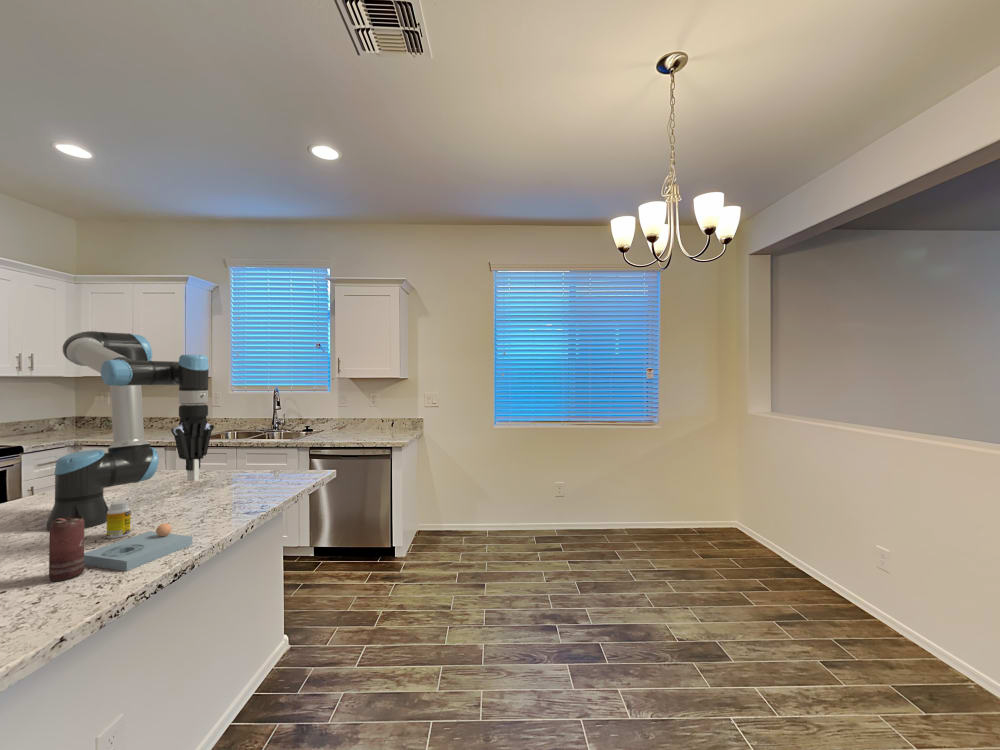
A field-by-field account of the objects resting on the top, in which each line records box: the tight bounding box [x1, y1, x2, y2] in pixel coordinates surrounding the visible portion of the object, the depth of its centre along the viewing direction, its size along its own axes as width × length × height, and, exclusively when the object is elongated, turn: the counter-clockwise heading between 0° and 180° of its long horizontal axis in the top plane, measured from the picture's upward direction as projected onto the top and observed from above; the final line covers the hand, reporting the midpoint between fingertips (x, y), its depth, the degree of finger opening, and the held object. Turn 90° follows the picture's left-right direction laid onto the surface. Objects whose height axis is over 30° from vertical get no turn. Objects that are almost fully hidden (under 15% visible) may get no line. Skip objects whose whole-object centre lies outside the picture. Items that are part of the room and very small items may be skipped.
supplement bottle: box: [106, 500, 132, 539], centre depth 136 cm, size 6×6×10 cm
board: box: [84, 531, 193, 572], centre depth 122 cm, size 16×18×2 cm
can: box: [48, 516, 85, 582], centre depth 108 cm, size 6×6×14 cm
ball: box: [155, 523, 172, 536], centre depth 129 cm, size 4×4×4 cm
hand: (193, 480), depth 138 cm, fingers closed
